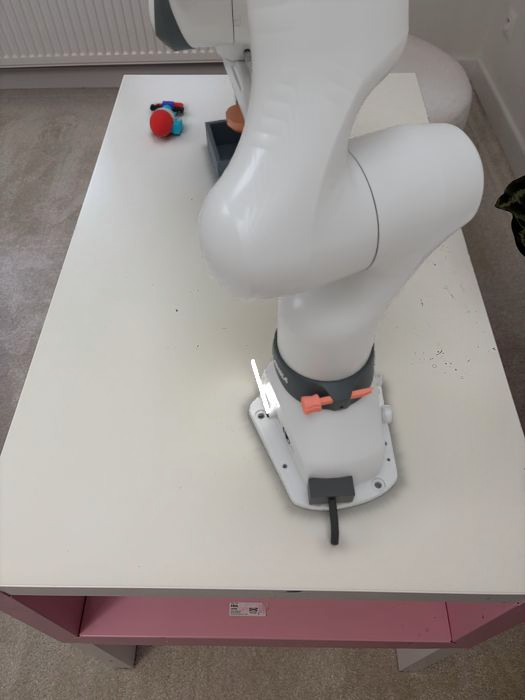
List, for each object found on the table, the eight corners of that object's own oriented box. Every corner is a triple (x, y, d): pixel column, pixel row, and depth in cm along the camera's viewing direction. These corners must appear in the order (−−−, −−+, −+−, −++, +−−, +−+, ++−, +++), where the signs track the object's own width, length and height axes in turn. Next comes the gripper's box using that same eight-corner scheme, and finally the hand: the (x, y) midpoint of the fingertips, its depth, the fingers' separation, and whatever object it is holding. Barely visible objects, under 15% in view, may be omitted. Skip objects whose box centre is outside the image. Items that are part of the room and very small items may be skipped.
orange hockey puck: (266, 133, 95) (266, 120, 93) (230, 138, 94) (229, 126, 92) (258, 112, 99) (258, 100, 97) (223, 117, 98) (222, 105, 96)
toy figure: (153, 112, 116) (141, 141, 106) (151, 89, 113) (139, 116, 102) (187, 115, 117) (179, 144, 106) (186, 92, 113) (178, 119, 103)
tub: (288, 178, 100) (289, 152, 96) (219, 189, 99) (217, 163, 94) (272, 137, 108) (272, 112, 103) (207, 147, 106) (204, 122, 102)
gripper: (275, 66, 78) (274, 147, 90) (247, 7, 90) (249, 85, 101) (234, 71, 78) (239, 152, 89) (211, 11, 89) (218, 90, 100)
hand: (244, 116), depth 95 cm, fingers closed on orange hockey puck, 7 cm apart
